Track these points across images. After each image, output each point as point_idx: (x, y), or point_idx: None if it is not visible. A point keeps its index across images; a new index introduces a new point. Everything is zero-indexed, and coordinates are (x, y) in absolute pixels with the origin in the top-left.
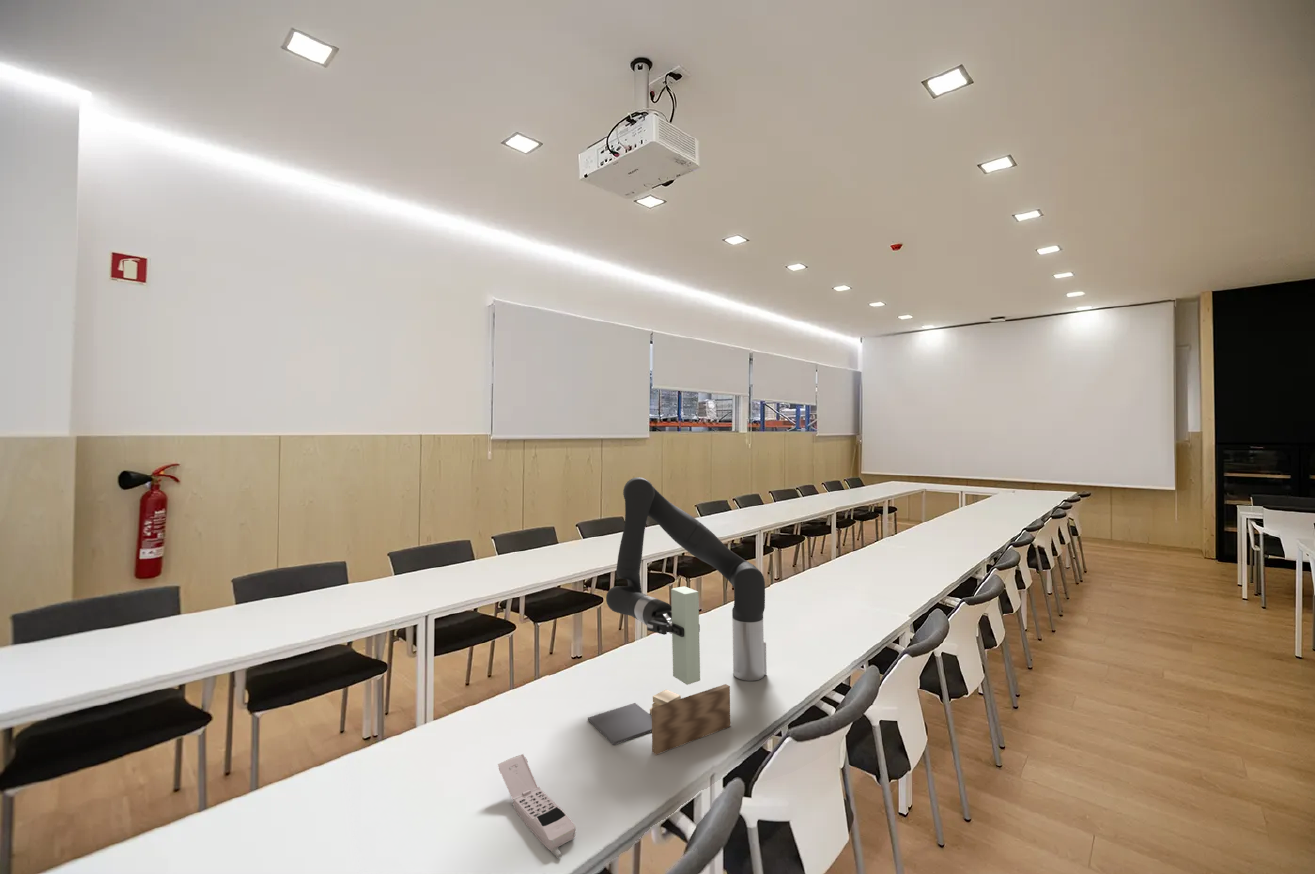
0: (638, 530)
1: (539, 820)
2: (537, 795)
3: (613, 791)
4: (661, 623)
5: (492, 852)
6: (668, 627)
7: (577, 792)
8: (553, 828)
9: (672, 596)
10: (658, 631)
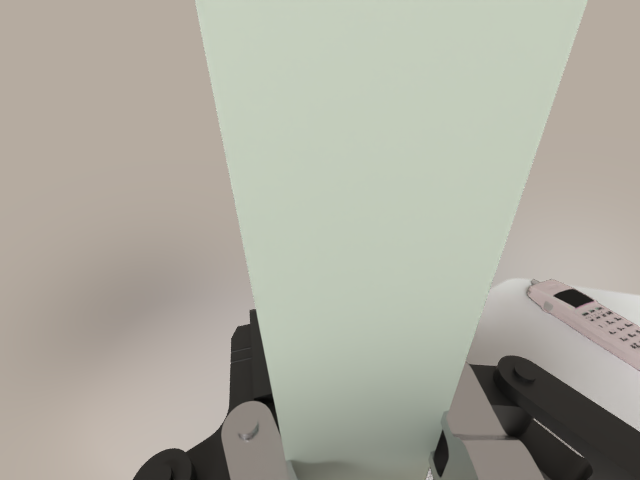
0: None
1: (584, 295)
2: (632, 343)
3: (505, 355)
4: (559, 399)
5: (623, 302)
6: (472, 369)
7: (571, 368)
8: (557, 286)
9: (512, 123)
10: (565, 445)
